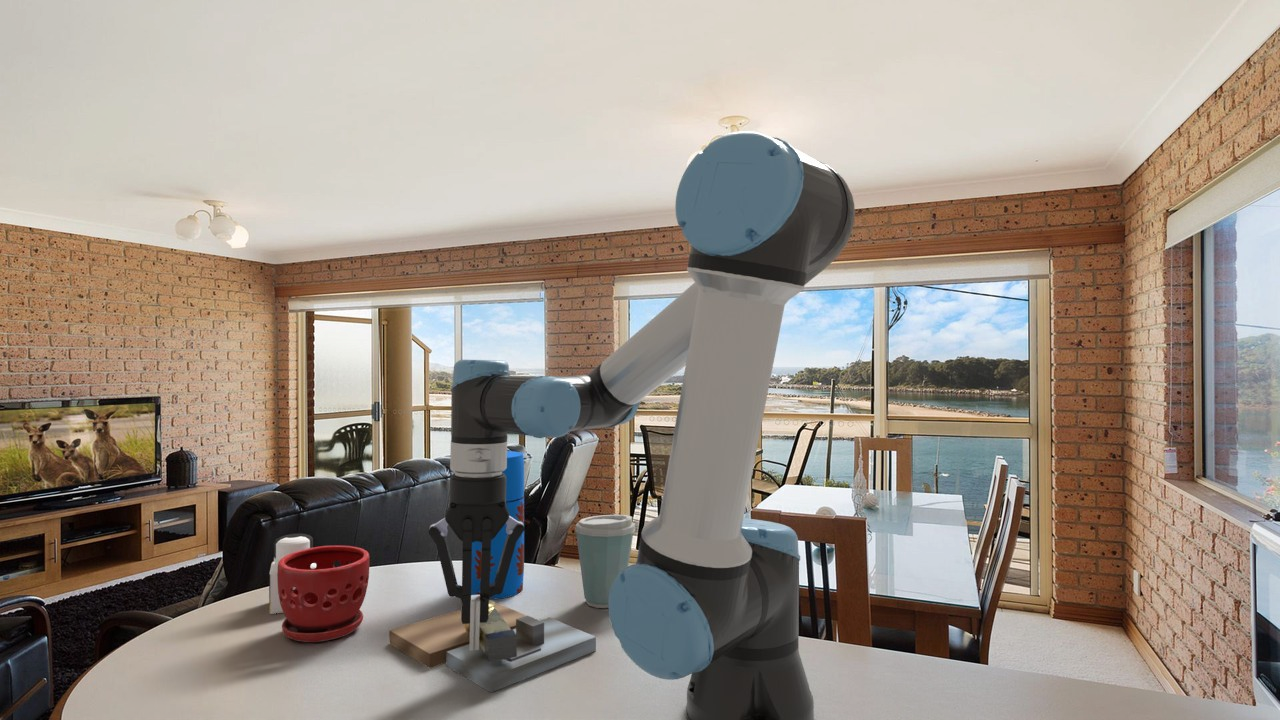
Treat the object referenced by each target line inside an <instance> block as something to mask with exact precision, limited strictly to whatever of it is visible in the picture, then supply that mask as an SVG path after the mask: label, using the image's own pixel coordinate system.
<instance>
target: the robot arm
mask: <svg viewBox="0 0 1280 720" xmlns="http://www.w3.org/2000/svg"><path fill="white" fill-rule="evenodd" d="M855 209H856V207H855V202H854V196H853V194H852V192H851V190H850V188H849V185H848V184H847V182H846V180H845V179H844V178H843V177H842V175H841V174H839V173H838V172H837V170H835V169H833V168H832V167H830V166H829V165H828V164H826V163H824V162H821V161H819V160H816V159H814V158H813V157H811V156H809V155H807V154H805V153H803V152H801V151H800V150H798V149H796V148H794V147H793V146H792V145H791V144H790V143H789V142H787V141H786V140H783V139H782V138H781V139H780V138H778V137H772V136H768V135H766V134H763V133H762V132H761V133H760V132H756V131H749V130H746V131H742V130H741V131H735V132H731V133H727V134H724V135H722V136H719V137H718V138H716V139H714V140H713V141H711V142H710V143H709V144H708V145H707V146H706V147H705V148H704V149H703V150H702V151H699V152H698V153H697V154H695V156H694V157H693V159H691V161H690V162H689V164H688V165H687V167H686V168H685V171H684V172H683V174H682V176H681V179H680V181H679V184H678V186H677V191H676V196H675V209H674V210H675V217H676V218H675V219H676V222H677V225H678V227H680V228H681V230H682V231H681V233H682V236H683V237H684V238H685V240H686V241H687V242H688V243H689V245H690V252H689V256H688V263H687V267H686V272H688V274H689V275H690V277H691V279H692V280H693V281H694V283H692V284H691V285H690V286H689V287H688V288H687V289H685V290H684V291H683V292H681V293H680V294H679V296H677V297H676V298H675V299H674V300H673V301H672V302H670V303H669V304H668V305H667V306H665V308H663V309H662V310H661V311H660V312H659V313H657V314H656V315H655V316H654V317H653V318H652V319H651V320H649V321H648V322H647V323H646V324H645V325H644V326H642V327H641V328H640V329H639V330H638V331H636V333H635V334H633V335H632V336H631V337H630V338H628V340H626V341H625V342H624V343H623V344H622V345H620V347H618V348H617V349H616V350H614V351H613V353H611V354H610V355H609V356H608V357H606V359H605V360H603V361H602V362H601V363H600V364H598V366H596V367H595V368H593V369H592V370H591V371H590V372H589V373H586V374H577V375H576V374H570V375H529V376H528V375H511V374H510V368H509V367H510V366H509V363H508V362H507V361H506V360H497V359H459V360H458V361H456V362H455V363H454V365H453V371H452V373H453V374H452V384H451V388H450V392H451V402H450V403H451V410H450V411H451V413H450V415H451V416H450V417H451V422H450V428H451V429H450V436H451V437H450V438H451V440H450V456H449V457H450V461H449V463H450V464H449V465H450V466H449V469H450V470H451V471H452V472H453V473H452V474H451V476H449V496H448V497H449V499H448V508H447V510H446V511H445V514H444V518H442V519H440V520H439V521H437V522H433V523H431V524H430V525H429V528H428V534H429V536H430V538H431V539H432V540H433V542H434V543H435V545H436V550H437V553H438V557H439V562H440V565H441V570H442V575H443V578H444V583H445V586H446V590H447V594H448V596H449V597H450V598H454V597H455V598H458V599H459V600H460V602H461V609H462V611H461V621H462V623H463V624H470V645H469V650H479V630H480V623H485V622H487V621H488V617H489V600H491V599H490V598H491V597H492V596H494V595H496V594H497V595H499V594H501V593H502V591H503V588H504V584H505V581H506V577H507V574H508V570H509V566H510V563H511V559H512V556H513V552H514V548H515V545H516V542H517V540H518V539H519V537H520V536H521V534H522V533H523V531H524V532H525V524H524V525H523V522H522V521H517V520H515V519H514V518H512V517H511V516H509V510H508V509H507V507H506V476H505V474H504V473H502V471H504V470H505V469H506V468H507V451H508V433H510V434H516V435H517V434H518V435H523V436H529V437H534V438H536V439H543V438H562V437H564V436H566V435H567V434H568V433H569V432H574V431H578V430H590V429H591V430H592V429H598V428H600V429H601V428H602V429H611V428H614V427H618V426H620V425H623V424H627V423H628V422H630V421H631V420H633V418H634V417H635V416H636V414H637V411H638V409H639V407H640V403H641V401H642V400H643V399H645V398H646V397H647V396H649V395H650V394H651V393H652V392H654V391H655V390H656V389H658V388H659V387H660V386H661V385H663V384H664V383H665V382H666V381H667V382H668V380H670V378H672V377H673V376H675V375H676V374H677V373H679V372H680V371H681V370H682V369H684V368H685V369H684V373H683V379H682V384H681V385H682V386H681V390H680V395H679V396H680V397H679V401H678V408H677V413H676V418H675V424H674V430H673V435H672V442H671V448H670V453H669V460H668V464H667V471H666V476H665V482H664V488H663V492H662V499H661V505H660V511H659V515H657V516H656V517H654V518H653V519H651V520H650V521H648V522H647V523H645V524H644V525H643V528H642V530H641V534H640V539H639V545H638V546H639V547H638V551H637V558H636V563H632V564H630V565H628V567H627V568H626V569H625V570H623V571H622V573H620V574H619V575H618V576H617V577H616V579H615V580H614V582H613V584H612V586H611V589H610V593H609V601H608V607H609V608H608V615H609V621H610V624H611V626H612V631H613V633H614V636H615V637H616V638H617V639H618V641H619V643H620V645H621V648H622V650H623V651H624V653H625V654H626V656H627V657H628V658H629V659H630V660H631V661H632V662H633V663H634V664H635V665H636V666H637V667H638V668H639V669H641V670H643V671H644V672H646V673H647V674H648V675H651V676H653V677H655V678H657V679H660V680H661V679H662V680H668V681H674V680H680V679H683V678H685V677H687V676H689V675H691V676H690V679H689V683H688V685H687V688H686V712H687V715H688V718H689V719H690V720H814V718H815V714H814V712H815V710H814V707H815V705H814V697H813V694H812V690H811V689H810V685H809V681H808V678H807V673H806V671H805V668H804V664H803V660H802V658H801V654H800V651H799V650H800V648H799V630H800V629H799V626H800V625H799V624H800V623H799V617H800V614H799V612H800V611H799V610H800V609H799V606H800V561H801V555H800V552H799V539H798V538H799V537H798V535H797V533H796V531H795V530H794V529H792V527H790V526H787V525H785V524H782V523H778V522H773V521H769V520H762V519H754V518H745V513H746V507H747V501H748V497H749V493H750V492H749V491H750V487H751V481H752V476H753V471H754V465H755V461H756V455H757V451H758V445H759V439H760V436H761V429H762V425H763V420H764V414H765V408H766V404H767V398H768V394H769V393H768V392H769V390H770V389H769V387H770V382H771V378H772V373H773V368H774V362H775V357H776V351H777V347H778V341H779V337H780V330H781V326H782V321H783V316H784V310H785V305H786V304H787V303H788V302H789V301H790V300H791V299H792V298H795V296H797V295H798V294H800V293H801V292H802V291H804V289H805V286H806V285H807V284H808V283H809V282H810V281H811V280H813V279H814V278H816V277H817V276H818V275H819V274H820V273H823V271H825V269H826V268H827V267H828V266H830V265H831V263H833V262H834V261H835V260H836V259H837V258H838V257H839V256H840V254H841V253H842V252H843V251H844V249H845V247H846V246H847V244H848V242H849V240H850V238H851V236H852V233H853V229H854V226H855V225H854V223H855V219H856V217H855V216H856V210H855ZM505 523H506V524H507V527H506V533H507V534H508V535H507V538H506V541H505V545H504V548H503V552H502V555H501V559H500V563H499V566H498V570H497V573H496V577H495V580H494V583H492V584H490V556H491V540H492V539H494V538H495V537H496V535H497V534H498V533H499V531H500V530H501V529H502V527H503V526H504V524H505ZM448 526H449V527H450V529H451V530H452V531H453V532H454V534H455V536H456V537H457V538H458V540H460V541H461V542H462V557H461V558H462V559H461V562H462V565H461V566H462V567H461V572H462V573H461V585H460V584H458V581H457V578H456V572H455V568H454V565H453V560H452V555H451V551H450V547H449V544H448V543H449V542H448V538H447V536H448V531H449V530H448ZM476 541H478V542H482V547H481V578H480V595H471V574H472V542H476Z"/></svg>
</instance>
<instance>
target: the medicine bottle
mask: <svg viewBox="0 0 1280 720" xmlns="http://www.w3.org/2000/svg"><path fill="white" fill-rule="evenodd" d="M308 548H314V538H313V536H311V535H310V534H306V533H290V534H285V535H283V536H280V537H278V538H276V539H275V541H274V542H273V561H272V562H271V564H270V568H269V569H270V570H269V575H268V577H269V578H268V580H269V583H268V585H269V587H268V591H269V593H268V594H269V595H268V599H269V601H268V603H269V604H268V605H269V606H268V608H269V609H268V611H269V612H268V613H269V615H276V613H277V614H284V612H283V610H282V607H281V604H280V600H279V595H278V580H277V572H278V562H279V561H280V559H282V558H283V557H284V556H286V555H288V554H291V553H293V552H296V551H300V550H304V549H308ZM316 566H317V565H316V563H312V564H311V566H310V567H311V569H314V568H316ZM294 589H295V587H293V590H294Z"/></svg>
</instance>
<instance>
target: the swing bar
mask: <svg viewBox="0 0 1280 720" xmlns="http://www.w3.org/2000/svg"><path fill="white" fill-rule="evenodd" d="M495 602H496V601H494V600H493V599H489V617H488V621H487V622H485V623H480V630H479V645H480V647H481V648H482V650H483V652H484V653H485V658H486V659H487V661H488V662H491V661H497V660H502V659H507V658H512V657H517V635H516V633H515V632H514V631H513V630H511V629H510V627H509V626H508V625H507V623H506V622H505V621H504V619H503V618H502V617H501V615H500V614H499V613H498V612H497V610H496V609H495ZM465 630H466V631H467V632H470V624H465Z"/></svg>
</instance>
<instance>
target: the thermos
mask: <svg viewBox="0 0 1280 720" xmlns="http://www.w3.org/2000/svg"><path fill="white" fill-rule="evenodd" d="M524 459H525V458H524V453H523V452H519V451H513V450H509V451H508V450H507V468H506V469H505V470H504V471H502V473H504V474H505V476H506V507H507V509H508V510H509V516H511V517H512V518H514V519H515V520H517V521H522V522H523V525H524V526H525V460H524ZM506 527H507V524H506V523H505V524H504V526H503V527H502V529H501V530H500V531H499V533H498V534H497V535H496V537H495V538H494V539H492V540H491V556H490V584H492V583H494V580H495V577H496V573H497V570H498V566H499V563H500V559H501V555H502V552H503V548H504V545H505V541H506V538H507V535H508V534H507V533H506ZM481 547H482V542H478V541H476V542H472V574H471V595H480V578H481ZM524 571H525V530H524V531H523V533H522V534H521V536H520V537H519V539H518V540H517V542H516V545H515V548H514V552H513V556H512V559H511V563H510V566H509V570H508V574H507V577H506V581H505V584H504V588H503V591H502V593H501V594H499V595H497V594H496V595H494V596H492V597H491V598H490V599H489V600H498V599H505V598H510V597H514V596H516V595H518V594H520V593H521V592H522V591H523V590H524V576H525V575H524V574H525V573H524Z"/></svg>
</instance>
